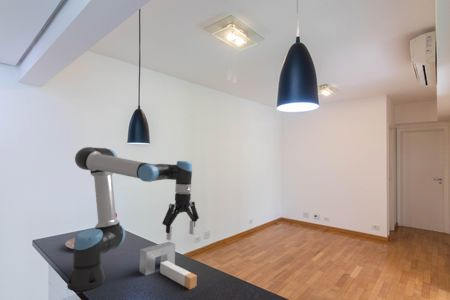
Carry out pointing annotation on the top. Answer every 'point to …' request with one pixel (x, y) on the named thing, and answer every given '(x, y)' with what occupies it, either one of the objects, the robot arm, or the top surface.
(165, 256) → the grey arch-shaped block
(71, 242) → the dinner plate
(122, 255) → the top surface
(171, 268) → the white and orange bar
